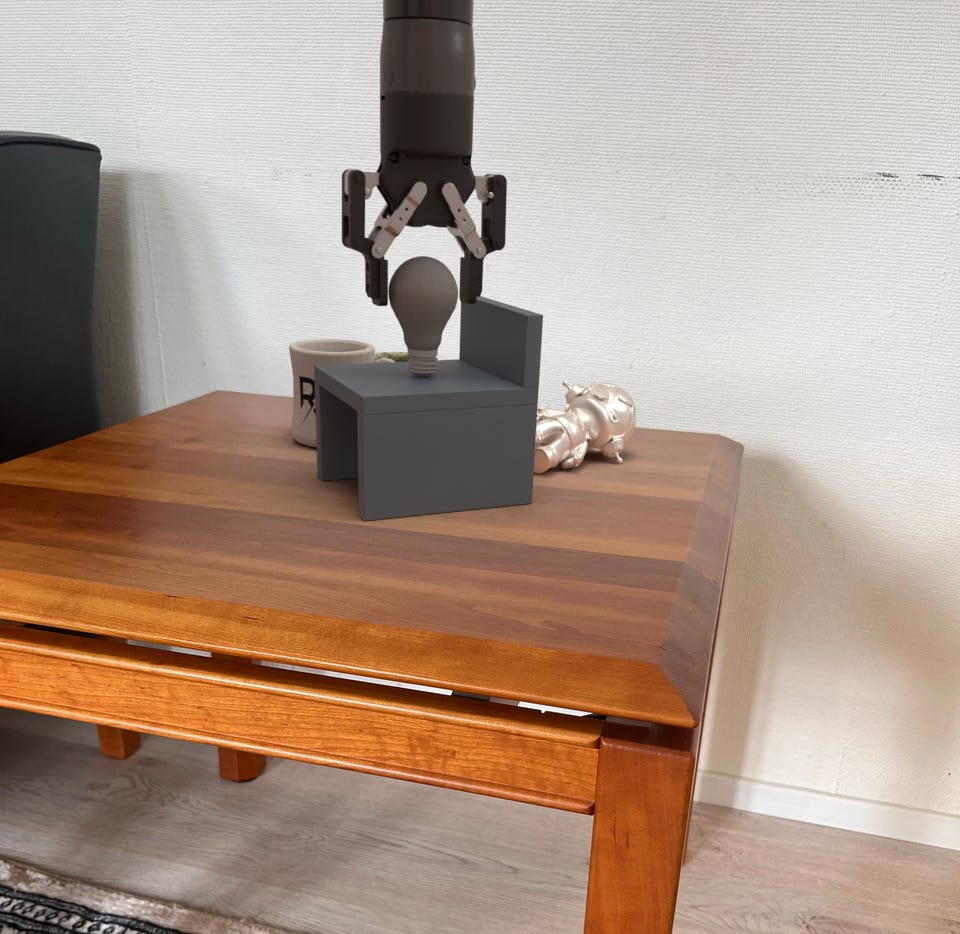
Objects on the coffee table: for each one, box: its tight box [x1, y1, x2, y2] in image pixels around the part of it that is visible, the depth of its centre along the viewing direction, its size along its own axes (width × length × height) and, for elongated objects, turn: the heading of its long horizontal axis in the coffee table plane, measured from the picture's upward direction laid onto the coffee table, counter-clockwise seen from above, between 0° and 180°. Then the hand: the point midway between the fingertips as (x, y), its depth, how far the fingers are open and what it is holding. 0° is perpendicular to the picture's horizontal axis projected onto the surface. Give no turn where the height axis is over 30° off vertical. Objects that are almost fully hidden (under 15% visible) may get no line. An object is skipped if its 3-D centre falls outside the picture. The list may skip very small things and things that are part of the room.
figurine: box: [534, 380, 638, 475], centre depth 105 cm, size 11×7×15 cm
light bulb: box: [388, 255, 459, 377], centre depth 89 cm, size 6×6×10 cm
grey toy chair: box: [314, 295, 544, 522], centre depth 92 cm, size 16×14×16 cm
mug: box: [288, 338, 395, 448], centre depth 108 cm, size 12×9×10 cm
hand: (424, 303), depth 88 cm, fingers open, 7 cm apart
